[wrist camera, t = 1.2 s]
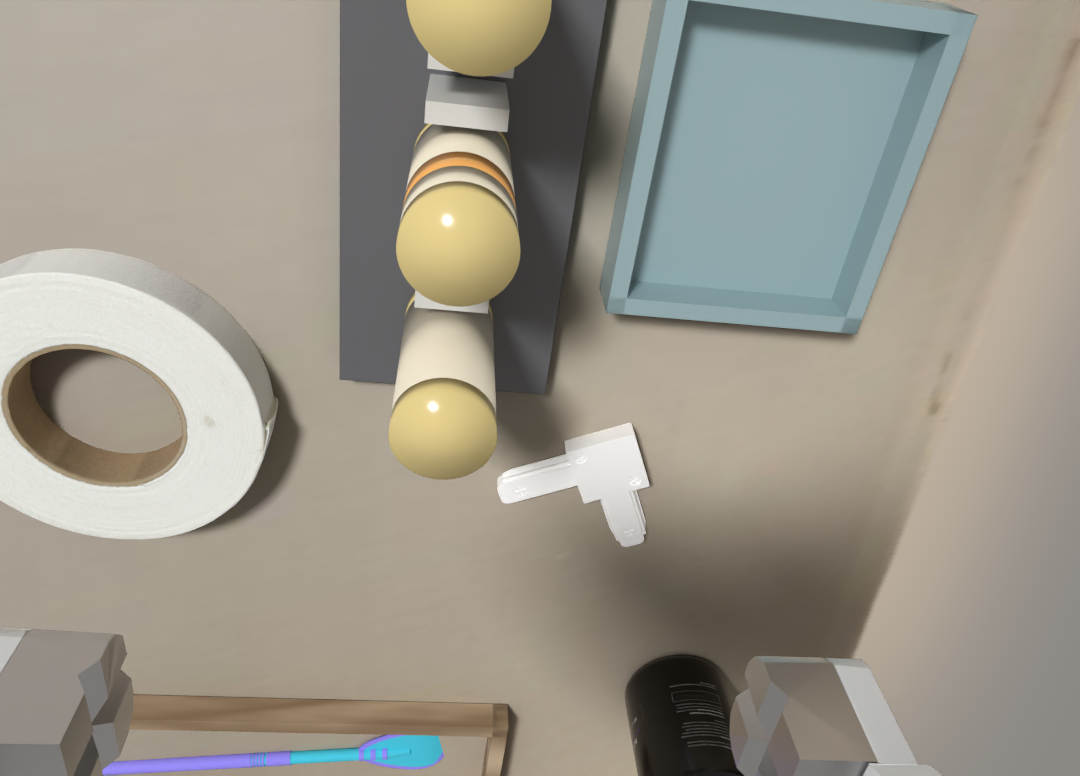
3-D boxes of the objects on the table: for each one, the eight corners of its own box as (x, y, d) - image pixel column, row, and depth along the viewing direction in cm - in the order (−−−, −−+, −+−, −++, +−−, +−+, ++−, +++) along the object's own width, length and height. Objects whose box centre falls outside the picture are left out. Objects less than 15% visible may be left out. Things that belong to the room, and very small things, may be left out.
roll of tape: (35, 522, 46) (11, 560, 44) (-119, 270, 38) (-159, 300, 36) (313, 485, 46) (304, 520, 44) (221, 223, 38) (204, 250, 35)
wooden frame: (1, 691, 53) (-12, 716, 52) (507, 704, 57) (508, 727, 56) (40, 808, 60) (29, 833, 59) (489, 812, 64) (489, 836, 63)
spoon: (449, 721, 59) (448, 736, 58) (450, 757, 61) (450, 772, 60) (74, 735, 57) (67, 750, 56) (90, 771, 59) (83, 787, 58)
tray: (659, -36, 33) (671, -27, 31) (947, 3, 34) (977, 15, 32) (599, 287, 40) (606, 312, 38) (837, 308, 42) (856, 333, 40)
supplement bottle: (602, 689, 57) (629, 872, 47) (677, 636, 55) (723, 817, 45) (669, 728, 60) (708, 908, 50) (743, 680, 57) (800, 859, 47)
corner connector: (530, 555, 51) (532, 575, 49) (488, 455, 46) (488, 473, 45) (661, 521, 50) (666, 540, 48) (629, 416, 45) (634, 434, 44)
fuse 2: (407, 272, 38) (390, 388, 30) (496, 280, 38) (502, 396, 31) (404, 348, 40) (386, 476, 32) (488, 355, 41) (491, 482, 33)
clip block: (344, -193, 29) (322, -198, 25) (625, -150, 31) (650, -147, 26) (342, 366, 42) (327, 428, 37) (542, 381, 43) (550, 442, 39)
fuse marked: (416, 103, 34) (398, 185, 26) (515, 114, 34) (527, 199, 27) (411, 198, 36) (393, 301, 28) (504, 207, 37) (513, 311, 29)
